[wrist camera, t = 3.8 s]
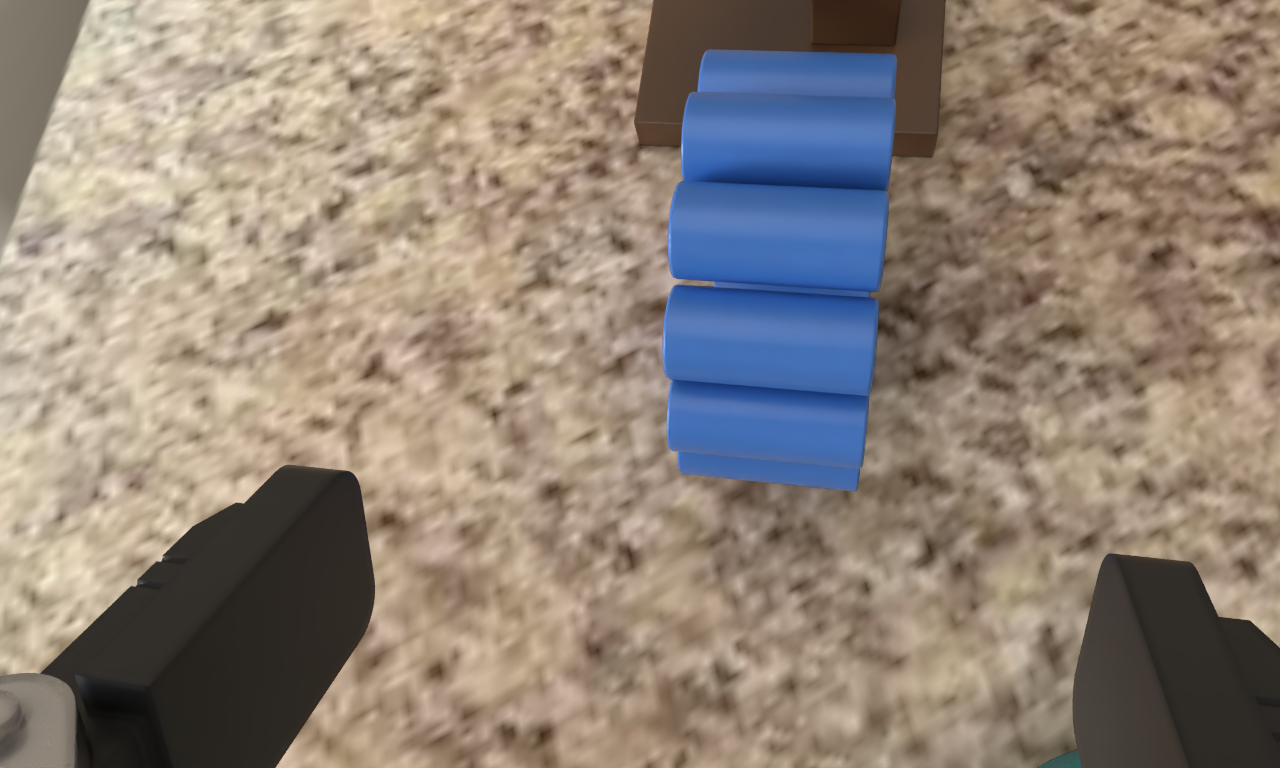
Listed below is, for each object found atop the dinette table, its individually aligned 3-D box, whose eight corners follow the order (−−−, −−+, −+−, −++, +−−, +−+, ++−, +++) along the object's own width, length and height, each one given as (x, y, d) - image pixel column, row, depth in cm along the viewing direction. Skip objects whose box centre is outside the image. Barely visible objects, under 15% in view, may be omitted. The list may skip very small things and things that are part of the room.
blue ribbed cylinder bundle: (875, 195, 29) (907, -42, 20) (850, 523, 26) (873, 413, 17) (734, 188, 30) (706, -44, 21) (694, 507, 27) (642, 393, 18)
